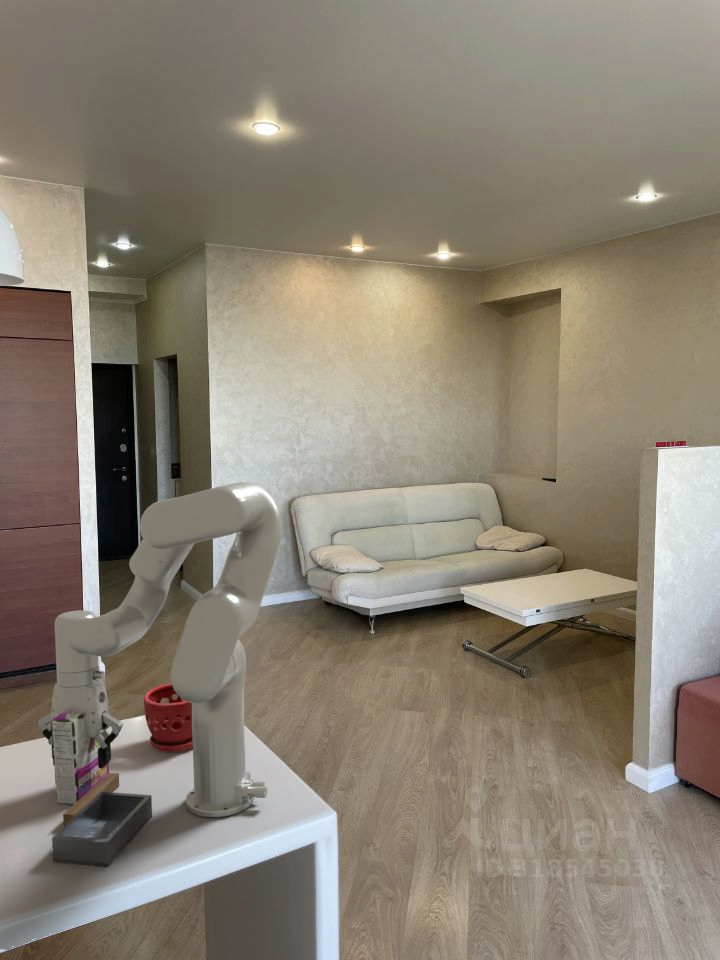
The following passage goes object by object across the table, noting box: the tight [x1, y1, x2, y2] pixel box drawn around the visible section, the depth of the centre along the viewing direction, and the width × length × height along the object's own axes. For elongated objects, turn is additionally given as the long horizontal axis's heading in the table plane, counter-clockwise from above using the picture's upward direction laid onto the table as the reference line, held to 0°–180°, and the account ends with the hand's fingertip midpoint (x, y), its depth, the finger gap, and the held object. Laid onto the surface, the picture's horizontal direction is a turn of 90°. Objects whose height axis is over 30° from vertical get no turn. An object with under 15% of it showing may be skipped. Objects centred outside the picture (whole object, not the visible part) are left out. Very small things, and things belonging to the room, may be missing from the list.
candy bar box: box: [50, 713, 110, 806], centre depth 143 cm, size 11×5×16 cm, turn 168°
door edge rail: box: [62, 772, 120, 827], centre depth 138 cm, size 2×16×2 cm, turn 170°
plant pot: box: [143, 683, 193, 753], centre depth 164 cm, size 13×13×12 cm
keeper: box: [51, 791, 153, 868], centre depth 126 cm, size 10×16×4 cm, turn 170°
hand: (81, 763), depth 143 cm, fingers open, 9 cm apart
